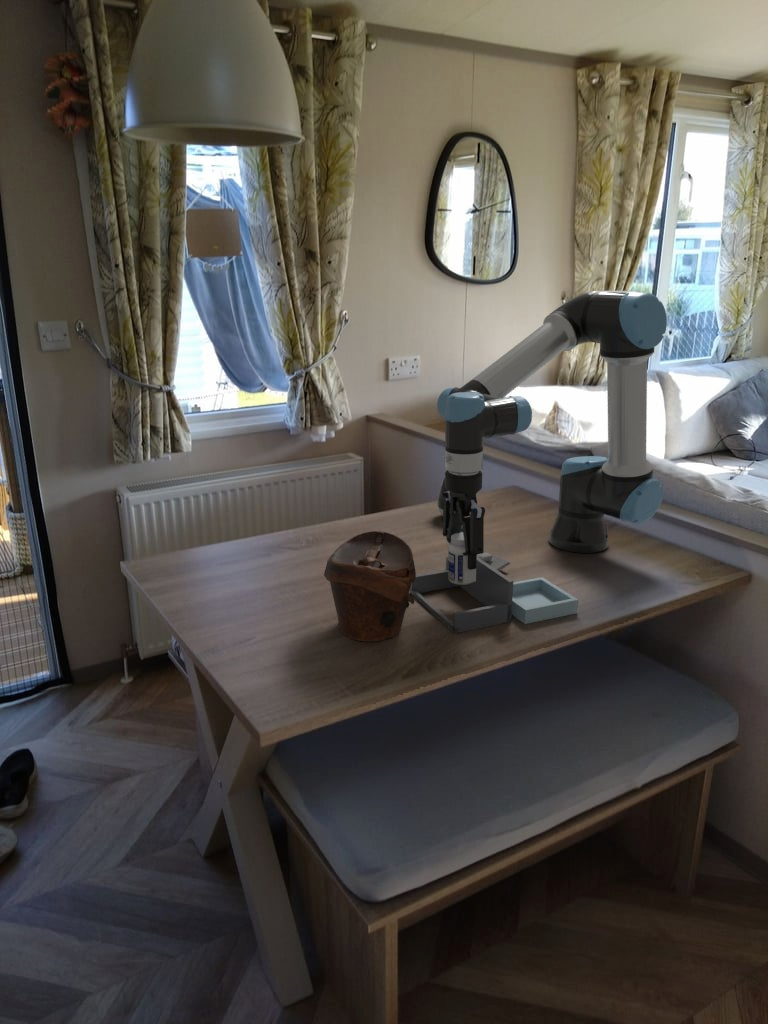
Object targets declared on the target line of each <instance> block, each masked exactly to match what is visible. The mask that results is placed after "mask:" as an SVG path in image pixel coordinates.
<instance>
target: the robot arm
mask: <svg viewBox="0 0 768 1024" xmlns="http://www.w3.org/2000/svg"><path fill="white" fill-rule="evenodd" d="M667 324H668V319H667V311H666V308H665V306H664V304H663V302H662V301H661V300H660V299H659V298H658V296H656V295H655V294H653V293H650V292H645V291H644V292H642V291H638V290H605V289H603V290H601V289H595V290H591V291H587V292H584V293H582V294H580V295H577V296H576V297H574V298H572V299H570V300H568V301H566V302H565V303H563V304H562V305H560V306H559V307H557V308H556V309H554V310H553V311H551V312H550V313H549V314H548V315H547V316H545V318H544V319H543V323H542V325H541V326H539V327H538V328H537V329H535V330H534V331H533V332H532V333H530V334H529V335H528V336H526V337H525V338H523V340H521V341H520V342H518V343H517V344H516V345H514V346H513V347H512V348H511V349H510V350H508V351H507V352H506V353H505V354H503V355H502V356H500V357H499V358H498V359H496V361H494V362H493V363H491V364H490V365H489V366H488V367H486V368H485V369H484V370H482V371H481V372H480V373H478V374H477V375H475V376H474V377H473V378H472V379H470V380H469V381H467V382H466V383H465V384H464V385H463V386H461V387H456V386H454V387H447V388H445V389H444V390H442V392H440V394H439V396H438V398H437V401H436V402H437V403H436V407H437V408H436V409H437V412H438V415H439V416H440V417H441V418H442V419H443V420H444V422H445V423H444V424H445V426H444V427H445V428H444V430H445V435H444V436H445V441H444V442H445V445H444V446H445V447H444V448H445V454H444V455H445V457H444V458H443V460H444V461H445V462H444V465H445V467H444V468H445V470H446V471H445V473H444V477H445V488H446V490H447V491H448V492H443V502H444V506H443V516H442V536H443V537H446V538H445V539H446V542H448V544H447V545H448V547H447V550H448V549H449V546H450V545H451V544H452V543H451V536H452V535H453V534H456V533H460V532H461V526H462V527H463V535H464V543H465V551H466V552H464V553H463V583H464V584H466V583H471V582H476V565H477V563H476V562H477V554H478V555H479V554H482V553H483V552H485V551H484V546H485V545H484V544H485V542H484V538H485V537H484V535H485V533H484V529H485V528H484V526H485V525H484V524H485V523H484V521H485V520H484V518H485V513H486V508H485V507H484V506H481V507H480V506H479V505H478V500H477V499H478V498H477V493H478V492H481V491H482V488H483V472H482V470H483V469H484V465H483V464H484V442H485V441H484V440H486V439H491V438H497V437H502V436H503V437H504V436H509V435H515V434H518V433H522V432H525V431H527V429H528V428H529V427H530V426H531V423H532V420H533V419H532V418H533V409H532V406H531V404H530V402H529V401H528V399H526V398H525V397H522V396H519V395H518V396H512V395H509V394H510V393H511V392H513V391H514V390H516V388H517V387H519V386H520V385H521V384H523V383H524V382H525V381H527V380H528V379H529V378H531V377H532V376H533V375H534V374H535V373H537V372H538V371H539V370H541V369H542V368H543V367H544V366H546V365H547V364H548V363H549V362H551V361H552V360H553V359H555V358H556V357H557V356H558V355H560V354H561V353H562V352H569V351H571V350H573V349H574V348H575V347H577V346H578V345H581V344H586V343H595V344H599V356H600V357H601V358H602V360H604V361H605V362H606V366H607V367H606V369H607V370H606V371H607V372H606V373H607V377H606V378H607V380H606V381H607V382H606V383H607V455H608V456H607V457H605V456H600V455H590V456H589V455H586V456H585V455H584V456H575V457H570V458H566V459H565V460H564V461H563V463H562V466H561V473H560V479H559V480H560V481H559V482H560V483H559V496H558V513H557V515H556V518H555V520H554V523H553V525H552V527H551V529H550V531H549V536H548V537H549V539H548V542H549V544H550V545H552V546H553V547H554V548H557V549H560V550H562V551H567V552H570V553H571V552H572V553H580V554H584V553H585V554H592V553H600V552H602V551H605V550H607V549H608V547H609V541H610V540H609V539H610V537H609V534H608V529H607V524H606V521H605V515H606V516H608V517H612V518H615V519H617V520H619V521H620V522H625V523H630V524H634V525H641V524H643V523H646V522H647V521H649V520H650V519H652V518H653V516H654V515H655V514H656V512H657V511H658V510H659V508H660V506H661V505H662V501H663V499H664V486H663V482H661V481H660V480H658V478H655V477H653V476H654V472H653V471H654V469H653V468H654V465H653V464H652V463H651V461H649V460H648V459H647V416H648V415H647V409H648V408H647V402H648V397H647V396H648V391H647V390H648V360H649V358H650V357H652V356H653V354H655V347H657V346H658V345H659V344H660V343H661V342H662V340H663V338H664V334H665V333H666V331H667V326H668V325H667ZM507 395H509V396H507ZM506 396H507V397H506ZM466 516H467V517H466ZM464 517H465V518H464Z"/></svg>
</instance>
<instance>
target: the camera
mask: <svg viewBox="0 0 768 1024" xmlns="http://www.w3.org/2000/svg"><path fill="white" fill-rule="evenodd" d="M460 533H463V527H462V526H461V532H460ZM477 557H478V558H480V559H481V560H483V561H484V562H486V563H487V564H489V565H490V566H492V567H493V568H495V569H496V570H498V571H499V572H501V570H502V569H505V568H506V567H508V566H510V565H511V562H510V561H508V560H506V559H504V558H501V557H499V556H497V555H494V554H492V553H489V552H487V551H484V552H483V553H482V554H477ZM445 570H448V556H446V557H445Z"/></svg>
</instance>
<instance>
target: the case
mask: <svg viewBox="0 0 768 1024" xmlns="http://www.w3.org/2000/svg"><path fill="white" fill-rule="evenodd" d="M413 555H414V554H413V551H412V548H411V547H410V546H409V545H408V544H407V543H406V541H404V540H403V539H402V538H400V537H399V536H397V535H395V534H393V533H390V532H386V531H381V530H380V531H379V530H378V531H377V530H375V531H374V530H371V531H367V532H362V533H360V534H357V535H355V536H353V537H352V538H350V539H348V540H346V541H345V542H344V543H342V544H341V545H340V546H339V547H337V549H336V550H335V551H334V552H332V554H331V555H330V557H329V558H328V559H327V560H326V561H327V562H326V566H325V569H324V574H323V576H324V578H325V579H326V580H327V581H328V582H329V583H330V589H331V593H332V599H333V603H334V608H335V611H336V616H337V622H338V624H337V625H338V627H339V630H340V632H341V633H342V634H343V635H344V636H346V637H348V638H349V639H352V640H354V641H357V642H366V643H368V642H371V643H373V642H381V641H385V640H388V639H390V638H392V637H395V636H396V635H397V634H398V633H399V632H400V631H401V628H403V623H404V617H405V614H406V611H407V608H408V609H409V607H410V604H411V605H414V603H415V597H412V596H411V595H409V594H410V587H411V582H412V583H413V582H414V581H415V578H416V575H417V572H416V566H415V560H414V556H413Z"/></svg>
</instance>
